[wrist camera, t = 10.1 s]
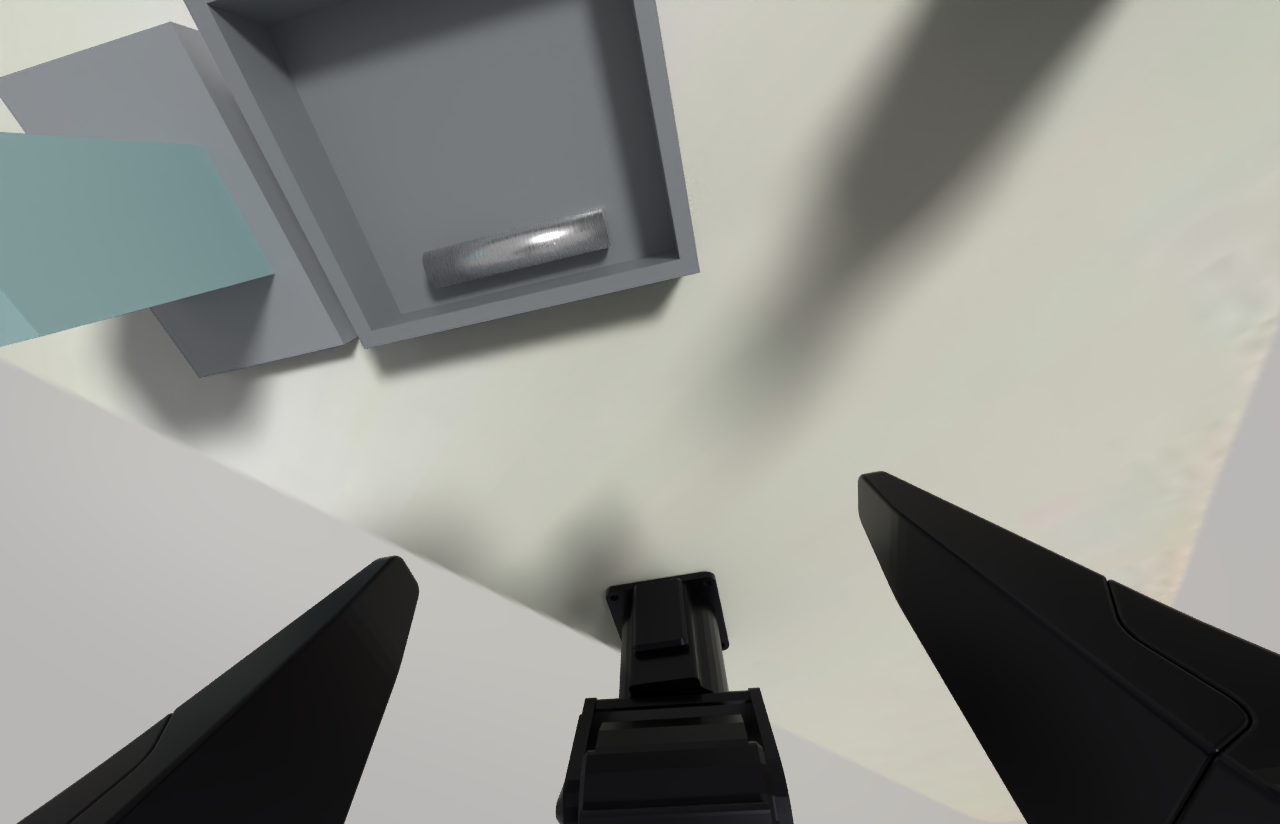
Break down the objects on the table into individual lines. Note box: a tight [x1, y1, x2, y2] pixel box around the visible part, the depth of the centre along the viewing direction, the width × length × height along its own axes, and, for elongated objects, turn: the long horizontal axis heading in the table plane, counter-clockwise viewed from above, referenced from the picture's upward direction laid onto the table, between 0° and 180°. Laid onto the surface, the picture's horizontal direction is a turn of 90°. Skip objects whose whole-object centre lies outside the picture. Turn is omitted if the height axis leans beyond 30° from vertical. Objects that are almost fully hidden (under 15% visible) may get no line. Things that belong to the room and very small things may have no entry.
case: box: [183, 0, 700, 349], centre depth 16 cm, size 12×13×3 cm
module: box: [0, 132, 275, 347], centre depth 14 cm, size 4×4×9 cm
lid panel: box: [0, 22, 358, 378], centre depth 18 cm, size 11×7×1 cm, turn 13°
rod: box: [422, 208, 612, 288], centre depth 18 cm, size 1×7×1 cm, turn 103°
